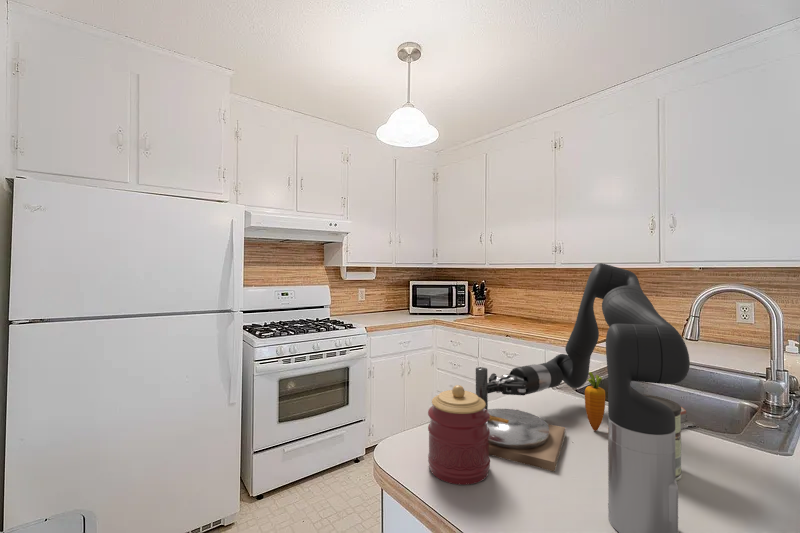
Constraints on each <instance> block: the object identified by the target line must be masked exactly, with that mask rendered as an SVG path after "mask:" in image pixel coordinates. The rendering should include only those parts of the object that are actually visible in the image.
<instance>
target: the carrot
mask: <svg viewBox="0 0 800 533" xmlns="http://www.w3.org/2000/svg"><path fill="white" fill-rule="evenodd" d="M588 376H590V377H589V378H587V381H588V383H589V384H590V385H588V386H586V388H585V389H584V405H585V406H584V407H585V412H586V417H587V419H588V422H589V425H590V427H591V429H592V430H593V431H594V432H597V431H599V430H598V429H600V427H601V424H602V422H603V418H604V415H605V414H604V413H605V411H606V410H605V409H606V390H605V389H604V388H602V387H600V386H599V385H600V383H601V382H602V380H603V378H602V377H601V376H600V375H598V374H596V375H594V374H593V372H592V371H589V374H588Z"/></svg>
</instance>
